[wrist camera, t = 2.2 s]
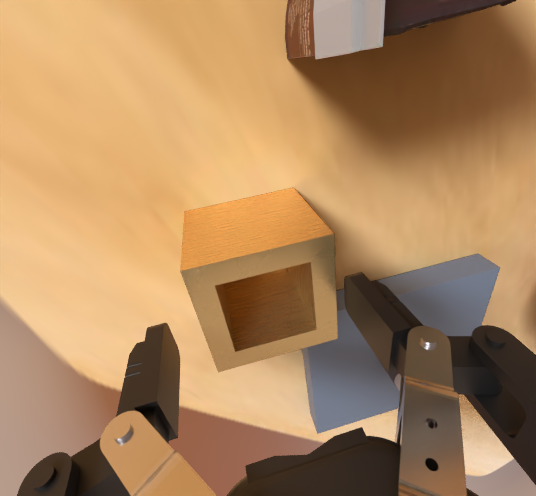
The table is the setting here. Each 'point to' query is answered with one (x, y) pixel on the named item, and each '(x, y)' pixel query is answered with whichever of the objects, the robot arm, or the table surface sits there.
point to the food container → (363, 22)
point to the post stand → (364, 359)
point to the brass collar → (260, 277)
